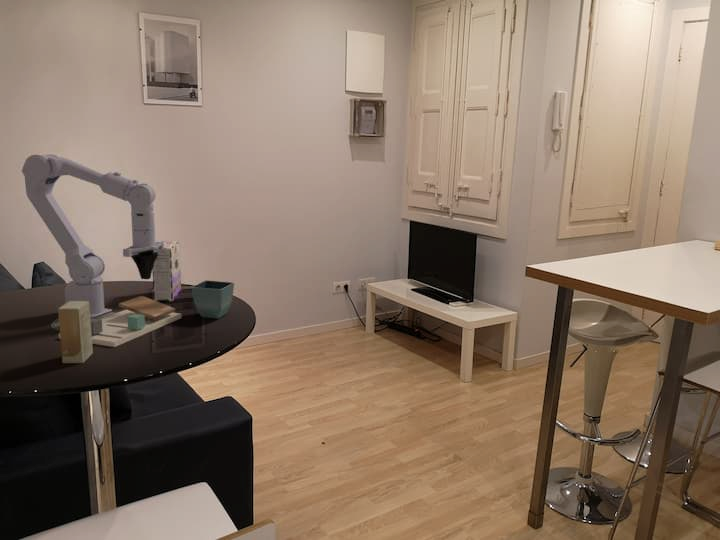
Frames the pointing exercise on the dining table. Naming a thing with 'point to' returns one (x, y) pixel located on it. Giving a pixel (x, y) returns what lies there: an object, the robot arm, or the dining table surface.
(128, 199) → the robot arm
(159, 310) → the panel
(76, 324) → the skincare box
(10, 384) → the dining table surface
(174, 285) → the candy box
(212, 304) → the flower pot
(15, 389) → the dining table surface
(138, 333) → the panel
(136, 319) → the teal slider
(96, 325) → the graphite slider
